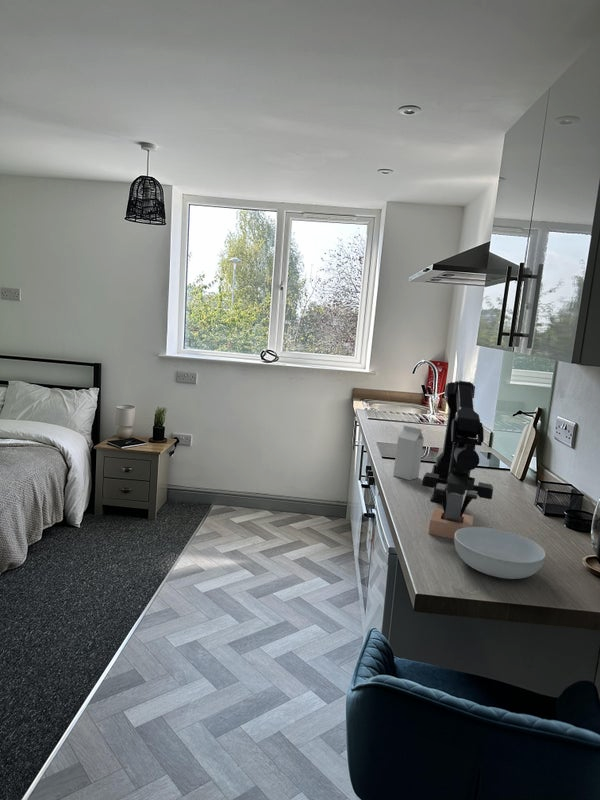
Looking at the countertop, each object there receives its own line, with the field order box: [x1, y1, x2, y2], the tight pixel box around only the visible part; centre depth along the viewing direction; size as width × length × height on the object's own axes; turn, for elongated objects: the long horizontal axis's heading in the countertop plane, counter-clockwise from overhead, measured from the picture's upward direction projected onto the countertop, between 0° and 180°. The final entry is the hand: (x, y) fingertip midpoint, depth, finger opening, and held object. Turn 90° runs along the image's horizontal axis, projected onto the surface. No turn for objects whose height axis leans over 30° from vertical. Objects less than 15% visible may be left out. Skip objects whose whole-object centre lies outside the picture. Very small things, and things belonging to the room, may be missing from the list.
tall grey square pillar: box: [444, 492, 465, 523], centre depth 154 cm, size 4×4×10 cm
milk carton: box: [392, 425, 425, 481], centre depth 205 cm, size 7×7×19 cm
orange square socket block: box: [428, 507, 474, 540], centre depth 155 cm, size 11×11×4 cm
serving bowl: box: [453, 526, 547, 580], centre depth 133 cm, size 21×21×7 cm
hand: (452, 514), depth 154 cm, fingers closed on tall grey square pillar, 4 cm apart
